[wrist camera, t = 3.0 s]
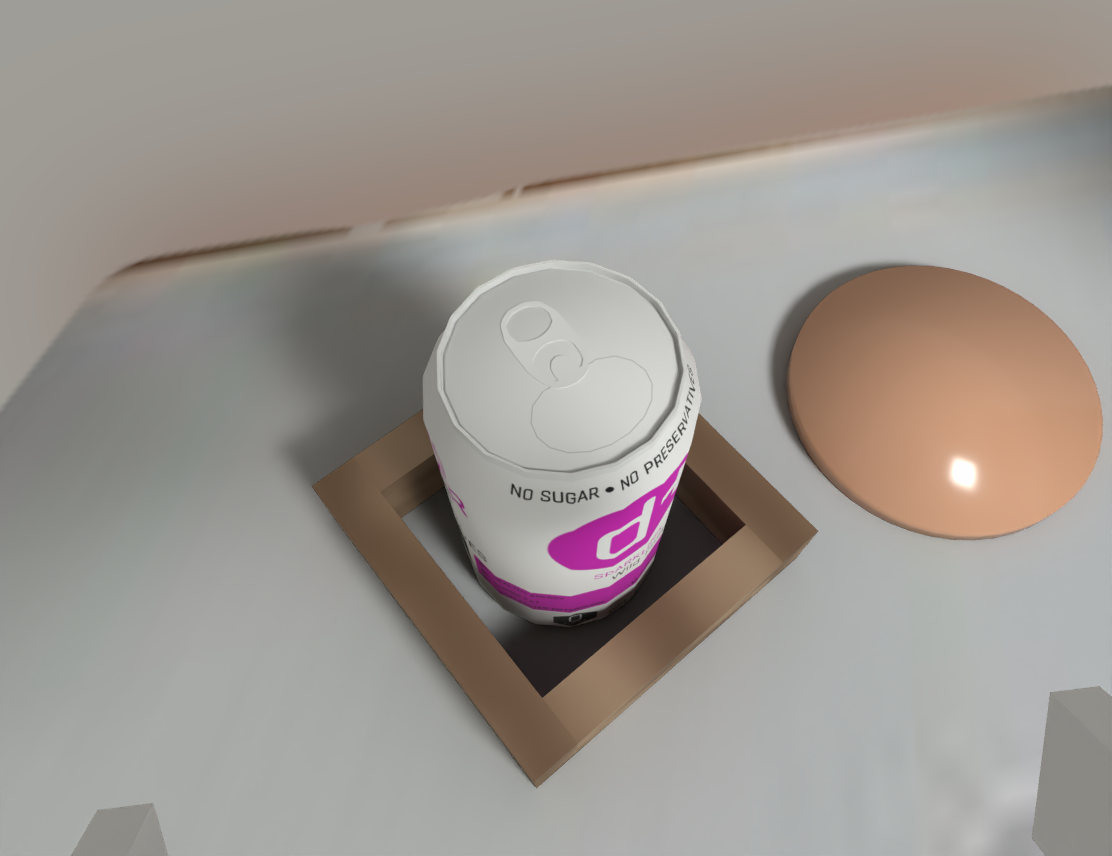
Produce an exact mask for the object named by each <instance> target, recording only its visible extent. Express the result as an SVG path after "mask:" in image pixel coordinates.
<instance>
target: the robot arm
mask: <svg viewBox="0 0 1112 856" xmlns="http://www.w3.org/2000/svg"><path fill="white" fill-rule="evenodd" d="M1032 839H1033V841H1034V842H1035V843H1036V844H1037V846H1038V847H1039V848H1040V849H1041V851H1042V852H1043V853H1044V854H1045V856H1112V697H1111V696H1110V695H1109V694H1108V693H1107V692H1105V691H1104V690H1103V689H1102V688H1101V687H1100V686H1098V687H1090V688H1082V689H1074V690H1066V691H1058V692H1050V698H1049V706H1048V714H1047V722H1046V730H1045V738H1044V746H1043V754H1042V762H1041V770H1040V778H1039V786H1038V794H1037V802H1036V810H1035V818H1034V825H1033V833H1032ZM71 856H168V853H167V849H166V846H165V842H164V839H163V836H162V832H161V829H160V825H159V822H158V818H157V815H156V811H155V808H154V805H153V803H151V804H143V805H135V806H127V807H119V808H111V809H103V810H97V812H96V814H95V815H94V817H93V819H92V820H91V822H90V824H89V826H88V827H87V829H86V831H85V832H84V834H83V836H82V838H81V839H80V841H79V843H78V844H77V846H76V848H75V850H74V851H73V853H72V855H71Z"/></svg>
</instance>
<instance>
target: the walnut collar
mask: <svg viewBox="0 0 1112 856" xmlns="http://www.w3.org/2000/svg"><path fill="white" fill-rule="evenodd" d="M444 486H445V485H444V481H443V478H442V475H441V472H440V469H439V466H438V463H437V460H436V457H435V454H434V451H433V448H432V445H431V442H430V438H429V435H428V432H427V429H426V426H425V423H424V420H423V409H422V410H421V411H420V412H418V413H417V414H415V415H414V416H412V417H411V418H409V419H408V420H407V421H405V422H404V423H402V424H401V425H399V426H398V427H396V428H395V429H394V430H392V431H391V432H389V433H388V434H386V435H385V436H383V437H382V438H381V439H379V440H378V441H376V442H375V443H373V444H372V445H370V446H369V447H368V448H366V449H365V450H363V451H362V452H360V453H359V454H357V455H356V456H355V457H353V458H352V459H350V460H349V461H347V462H346V463H344V464H343V465H342V466H340V467H339V468H337V469H336V470H334V471H333V472H332V473H330V474H329V475H327V476H326V477H324V478H323V479H321V480H320V481H319V482H317V483H316V484H314V485H313V486H312V487H313V489H314V490H315V491H316V493H317V494H318V496H319V497H320V499H321V500H322V501H323V503H324V504H325V506H326V507H327V509H328V510H329V512H330V513H331V514H332V516H333V517H334V519H335V520H336V521H337V523H338V524H339V525H340V527H341V528H342V529H343V531H344V532H345V533H346V535H347V536H348V537H349V539H350V540H351V541H352V543H353V544H354V545H355V547H356V548H357V549H358V551H359V552H360V553H361V555H362V556H363V557H364V559H365V560H366V561H367V563H368V564H369V565H370V567H371V568H372V569H373V571H374V572H375V573H376V575H377V576H378V577H379V579H380V580H381V581H382V583H383V584H384V585H385V587H386V588H387V589H388V591H389V592H390V593H391V595H392V596H393V597H394V599H395V600H396V601H397V603H398V604H399V605H400V607H401V608H402V609H403V611H404V612H405V613H406V615H407V616H408V617H409V619H410V620H411V621H412V623H413V624H414V625H415V627H416V628H417V629H418V631H419V632H420V633H421V635H422V636H423V637H424V639H425V640H426V641H427V643H428V644H429V645H430V647H431V648H432V649H433V651H434V652H435V653H436V655H437V656H438V657H439V659H440V660H441V661H442V663H443V664H444V665H445V667H446V668H447V669H448V671H449V672H450V673H451V675H452V676H453V677H454V679H455V680H456V681H457V683H458V684H459V685H460V687H461V688H462V689H463V691H464V692H465V693H466V695H467V696H468V697H469V699H470V700H471V702H472V703H473V704H474V706H475V707H476V708H477V710H478V711H479V712H480V714H481V715H482V716H483V718H484V719H485V720H486V722H487V723H488V724H489V726H490V727H491V728H492V730H493V731H494V732H495V734H496V735H497V736H498V738H499V739H500V740H501V742H502V743H503V744H504V746H505V747H506V748H507V750H508V751H509V752H510V754H511V755H512V756H513V758H514V759H515V760H516V762H517V763H518V764H519V766H520V767H521V768H522V770H523V771H524V772H525V774H526V775H527V776H528V778H529V779H530V780H531V782H532V783H533V784H534V786H535V787H536V788H537V787H539V786H540V785H541V784H542V783H543V782H544V781H545V780H547V779H548V778H549V777H550V776H551V775H552V774H553V773H554V772H556V771H557V770H558V769H559V768H560V767H561V766H562V765H563V764H565V763H566V762H567V761H568V760H569V759H570V758H571V757H572V756H574V755H575V754H576V753H577V752H578V751H579V750H580V749H581V748H583V747H584V746H585V745H586V744H587V743H588V742H589V741H590V740H592V739H593V738H594V737H595V736H596V735H597V734H598V733H600V732H601V731H602V730H603V729H604V728H605V727H606V726H607V725H609V724H610V723H611V722H612V721H613V720H614V719H615V718H616V717H618V716H619V715H620V714H621V713H622V712H623V711H624V710H625V709H627V708H628V707H629V706H630V705H631V704H632V703H633V702H634V701H636V700H637V699H638V698H639V697H640V696H641V695H642V694H643V693H645V692H646V691H647V690H648V689H649V688H650V687H651V686H653V685H654V684H655V683H656V682H657V681H658V680H659V679H660V678H662V677H663V676H664V675H665V674H666V673H667V672H668V671H669V670H671V669H672V668H673V667H674V666H675V665H676V664H677V663H678V662H680V661H681V660H682V659H683V658H684V657H685V656H686V655H687V654H689V653H690V652H691V651H692V650H693V649H694V648H695V647H696V646H698V645H699V644H700V643H701V642H702V641H703V640H704V639H705V638H707V637H708V636H709V635H710V634H711V633H712V632H713V631H715V630H716V629H717V628H718V627H719V626H720V625H721V624H722V623H724V622H725V621H726V620H727V619H728V618H729V617H730V616H731V615H733V614H734V613H735V612H736V611H737V610H738V609H739V608H740V607H742V606H743V605H744V604H745V603H746V602H747V601H748V600H749V599H751V598H752V597H753V596H754V595H755V594H756V593H757V592H758V591H760V590H761V589H762V588H763V587H764V586H765V585H766V584H768V583H769V582H770V581H771V580H772V579H773V578H774V577H775V576H777V575H778V574H779V573H780V572H781V571H782V570H783V569H784V568H786V567H787V566H788V565H789V564H790V563H791V562H792V561H793V560H795V559H796V558H797V556H798V555H799V554H800V553H801V552H802V550H803V549H804V548H805V547H806V545H807V544H808V543H809V542H810V541H811V539H812V538H813V537H814V536H815V534H816V533H817V532H818V530H817V529H816V528H815V527H814V526H813V525H812V524H810V523H809V522H808V521H807V520H806V519H805V518H804V517H803V516H802V515H801V514H800V513H799V512H798V511H797V510H796V509H795V508H794V507H793V506H792V505H791V504H790V503H789V502H788V501H787V500H786V499H785V498H784V497H783V496H782V495H781V494H780V493H779V492H778V491H777V490H776V489H775V488H774V487H773V486H772V485H771V484H770V483H769V482H768V481H767V480H766V479H765V478H764V477H763V476H762V475H761V474H760V473H759V472H758V471H757V470H756V469H755V468H754V467H753V466H752V465H751V464H750V463H749V462H748V461H747V460H746V459H745V458H744V457H743V456H742V455H740V454H739V453H738V452H737V451H736V450H735V449H734V448H733V447H732V446H731V445H730V444H729V443H728V442H727V441H726V440H725V439H724V438H723V437H722V436H721V435H720V434H719V433H718V432H717V431H716V430H715V429H714V428H713V427H712V426H711V425H710V424H709V423H708V422H707V421H706V420H705V419H704V418H703V417H702V416H701V415H700V414H699V413H698V417H697V421H696V426H695V430H694V435H693V439H692V443H691V446H690V449H689V452H688V455H687V458H686V461H685V465H684V468H683V471H682V474H681V477H680V480H679V483H678V486H677V489H676V492H675V495H676V496H677V497H678V498H679V499H680V500H681V501H682V502H683V503H684V504H685V505H686V506H687V507H688V508H689V509H690V511H691V512H692V513H693V514H694V515H695V516H696V517H697V518H698V519H699V520H700V521H701V522H702V523H703V524H704V525H705V526H706V527H707V528H708V529H709V530H710V531H711V533H712V534H713V535H714V536H715V537H716V538H717V539H718V540H719V541H720V542H721V543H722V544H723V545H722V546H720V547H719V548H718V549H717V550H716V551H715V552H713V553H712V554H711V555H710V556H709V557H707V558H706V559H705V560H704V561H703V562H702V563H700V564H699V565H698V566H697V567H696V568H695V569H693V570H692V571H691V572H690V573H689V574H688V575H686V576H685V577H684V578H683V579H682V580H680V581H679V582H678V583H677V584H676V585H675V586H673V587H672V588H671V589H670V590H669V591H668V592H666V593H665V594H664V595H663V596H662V597H660V598H659V599H658V600H657V601H656V602H655V603H653V604H652V605H651V606H650V607H649V608H648V609H646V610H645V611H644V612H643V613H642V614H640V615H639V616H638V617H637V618H636V619H635V620H633V621H632V622H631V623H630V624H629V625H628V626H626V627H625V628H624V629H623V630H622V631H621V632H619V633H618V634H617V635H616V636H615V637H613V638H612V639H611V640H610V641H609V642H608V643H606V644H605V645H604V646H603V647H602V648H601V649H599V650H598V651H597V652H596V653H595V654H593V655H592V656H591V657H590V658H589V659H588V660H586V661H585V662H584V663H583V664H582V665H581V666H579V667H578V668H577V669H576V670H575V671H574V672H572V673H571V674H570V675H569V676H568V677H566V678H565V679H564V680H563V681H562V682H561V683H559V684H558V685H557V686H556V687H555V688H554V689H552V690H551V691H550V692H549V693H548V694H546V695H545V696H544V697H543V698H542V697H541V696H540V695H539V693H538V692H537V691H536V690H535V688H534V687H533V686H532V684H531V683H530V682H529V681H528V679H527V678H526V677H525V676H524V674H523V673H522V672H521V670H520V669H519V668H518V667H517V665H516V664H515V663H514V662H513V660H512V659H511V658H510V656H509V655H508V654H507V653H506V651H505V650H504V649H503V648H502V646H501V645H500V644H499V642H498V641H497V640H496V639H495V637H494V636H493V635H492V634H491V632H490V631H489V630H488V628H487V627H486V626H485V625H484V623H483V622H482V621H481V620H480V618H479V617H478V616H477V614H476V613H475V612H474V611H473V609H472V608H471V607H470V606H469V604H468V603H467V602H466V600H465V599H464V598H463V597H462V595H461V594H460V593H459V592H458V590H457V589H456V588H455V586H454V585H453V584H452V583H451V581H450V580H449V579H448V578H447V576H446V575H445V574H444V572H443V571H442V570H441V569H440V567H439V566H438V565H437V564H436V562H435V561H434V560H433V559H432V557H431V556H430V555H429V553H428V552H427V551H426V550H425V548H424V547H423V546H422V545H421V543H420V542H419V541H418V539H417V538H416V537H415V536H414V534H413V533H412V532H411V531H410V529H409V528H408V527H407V525H406V524H405V523H404V522H403V520H402V519H401V518H402V517H403V516H405V515H406V514H407V513H409V512H410V511H411V510H413V509H414V508H415V507H417V506H418V505H420V504H421V503H422V502H424V501H425V500H426V499H428V498H429V497H431V496H432V495H433V494H435V493H436V492H437V491H439V490H440V489H441V488H443V487H444Z"/></svg>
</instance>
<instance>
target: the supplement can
mask: <svg viewBox="0 0 1112 856" xmlns="http://www.w3.org/2000/svg"><path fill="white" fill-rule="evenodd" d="M701 399H702V398H701V393H700V387H699V381H698V376H697V370H696V364H695V359H694V356H693V354H692V352H691V351H690V349H689V348H688V346H687V344H686V343H685V341H684V340H683V338H682V336H681V333H680V332H679V330H678V329H677V327H676V325H675V324H674V322H673V320H672V319H671V317H670V316H669V314H668V312H667V311H666V309H665V308H664V306H663V304H662V303H661V301H660V300H658V299H657V298H656V297H655V296H653V295H652V294H651V293H650V292H648V291H647V290H646V289H644V288H643V287H642V286H641V285H639V284H638V283H637V282H636V281H634V280H633V279H632V278H631V277H629V276H626V275H623V274H621V273H618V272H616V271H613V270H610V269H608V268H605V267H602V266H600V265H597V264H594V263H589V262H576V261H562V260H548V261H543V262H538V263H534V264H529V265H524V266H520V267H515V268H511V269H509V270H507V271H506V272H504V273H502V274H500V275H498V276H497V277H495V278H493V279H491V280H489V281H488V282H486V283H484V284H482V285H480V286H479V287H477V288H476V289H475V290H474V291H473V292H472V293H471V294H470V295H469V296H468V298H467V299H466V300H465V301H464V302H463V303H462V304H461V305H460V306H459V307H458V309H457V310H456V311H455V312H454V313H453V314H452V315H451V316H450V319H449V321H448V324H447V327H446V329H445V330H444V331H443V332H442V334H441V335H440V336H439V337H438V339H437V342H436V344H435V347H434V349H433V352H432V354H431V357H430V359H429V362H428V364H427V367H426V369H425V372H424V374H423V420H424V423H425V426H426V429H427V432H428V435H429V438H430V442H431V445H432V448H433V451H434V454H435V457H436V460H437V463H438V466H439V469H440V472H441V475H442V478H443V481H444V485H445V488H446V491H447V494H448V497H449V500H450V503H451V506H452V509H453V512H454V515H455V518H456V521H457V524H458V527H459V531H460V534H461V537H462V540H463V543H464V546H465V549H466V552H467V555H468V557H469V560H470V562H471V564H472V567H473V569H474V571H475V574H476V576H477V579H478V581H479V583H480V585H481V586H482V587H483V588H484V589H485V590H486V591H487V592H488V593H489V594H490V596H491V597H492V598H493V599H494V600H495V601H496V602H497V603H498V604H499V605H500V606H501V607H502V608H503V609H505V610H507V611H509V612H511V613H513V614H515V615H517V616H519V617H521V618H523V619H525V620H528V621H530V622H532V623H534V624H541V625H552V626H562V627H572V626H576V625H580V624H584V623H588V622H591V621H595V620H599V619H603V618H605V617H606V616H607V615H609V614H610V613H612V612H613V611H615V610H616V609H617V608H619V607H620V606H622V605H623V604H625V603H626V602H628V601H629V600H630V599H632V597H633V596H634V594H635V593H636V591H637V590H638V588H639V587H640V585H641V584H642V582H643V581H644V580H645V578H646V577H647V575H648V574H649V572H650V570H651V567H652V564H653V561H654V558H655V554H656V551H657V548H658V545H659V542H660V539H661V536H662V533H663V530H664V527H665V523H666V520H667V517H668V514H669V511H670V508H671V505H672V502H673V499H674V496H675V492H676V489H677V486H678V483H679V480H680V477H681V474H682V471H683V468H684V465H685V461H686V458H687V455H688V452H689V449H690V446H691V443H692V439H693V435H694V430H695V426H696V421H697V417H698V413H699V408H700V404H701Z"/></svg>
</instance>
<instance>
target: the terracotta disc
mask: <svg viewBox="0 0 1112 856" xmlns="http://www.w3.org/2000/svg"><path fill="white" fill-rule="evenodd" d="M786 387H787V397H788V405H789V409H790V413H791V417H792V421H793V423H794V426H795V428H796V431H797V433H798V436H799V438H800V440H801V442H802V443H803V445H804V447H805V449H806V451H807V452H808V454H809V456H810V457H811V458H812V460H813V461H814V462H815V464H816V465H817V467H818V468H819V469H820V471H821V472H822V473H823V474H824V475H825V476H826V477H827V478H828V479H829V480H830V481H831V482H832V483H833V485H834V486H835V487H837V488H838V489H839V490H840V491H841V492H842V493H844V494H845V495H846V496H847V497H848V498H849V499H851V500H852V501H853V502H855V503H856V504H858V505H859V506H861V507H862V508H864V509H865V510H867V511H868V512H870V513H872V514H874V515H875V516H877V517H879V518H881V519H883V520H885V521H887V522H889V523H891V524H894V525H896V526H899V527H901V528H904V529H907V530H909V531H913V532H916V533H920V534H924V535H927V536H931V537H938V538H945V539H952V540H981V539H991V538H997V537H1001V536H1005V535H1009V534H1014V533H1016V532H1019V531H1021V530H1024V529H1026V528H1029V527H1031V526H1033V525H1035V524H1036V523H1038V522H1040V521H1041V520H1043V519H1045V518H1046V517H1048V516H1050V515H1051V514H1052V513H1054V512H1055V511H1057V510H1058V509H1060V508H1061V507H1062V506H1063V505H1065V504H1066V503H1067V502H1068V501H1069V500H1071V499H1072V498H1073V497H1074V496H1075V495H1076V493H1077V492H1078V491H1079V490H1080V489H1081V488H1082V486H1083V485H1084V484H1085V482H1086V481H1087V479H1088V477H1089V475H1090V474H1091V472H1092V470H1093V468H1094V466H1095V463H1096V460H1097V458H1098V455H1099V451H1100V446H1101V440H1102V426H1103V418H1102V410H1101V403H1100V398H1099V395H1098V392H1097V388H1096V385H1095V382H1094V380H1093V377H1092V375H1091V373H1090V371H1089V368H1088V366H1087V364H1086V363H1085V361H1084V359H1083V358H1082V356H1081V354H1080V353H1079V351H1078V350H1077V348H1076V347H1075V346H1074V344H1073V343H1072V342H1071V340H1070V339H1069V338H1068V336H1067V335H1066V334H1065V333H1064V332H1063V331H1062V330H1061V329H1060V328H1059V327H1058V326H1057V325H1056V324H1055V323H1054V321H1053V320H1051V319H1050V318H1049V317H1048V316H1047V315H1046V314H1044V313H1043V312H1042V311H1041V310H1040V309H1038V308H1037V307H1036V306H1034V305H1033V304H1031V303H1030V302H1029V301H1027V300H1026V299H1024V298H1023V297H1021V296H1020V295H1018V294H1016V293H1014V292H1012V291H1011V290H1009V289H1007V288H1005V287H1003V286H1001V285H999V284H997V283H994V282H992V281H990V280H988V279H985V278H982V277H979V276H976V275H973V274H970V273H967V272H962V271H958V270H954V269H949V268H942V267H934V266H900V267H891V268H886V269H881V270H876V271H873V272H870V273H867V274H864V275H861V276H859V277H856V278H854V279H852V280H850V281H848V282H846V283H844V284H843V285H841V286H840V287H838V288H837V289H835V290H834V291H832V292H831V293H830V294H829V295H827V296H826V297H825V298H824V299H823V300H822V301H821V302H820V303H819V304H818V305H817V306H816V307H815V309H814V310H813V311H812V312H811V314H810V315H809V316H808V318H807V320H806V322H805V323H804V325H803V327H802V328H801V330H800V333H799V335H798V337H797V339H796V342H795V344H794V347H793V349H792V352H791V355H790V359H789V364H788V369H787V386H786Z"/></svg>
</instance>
